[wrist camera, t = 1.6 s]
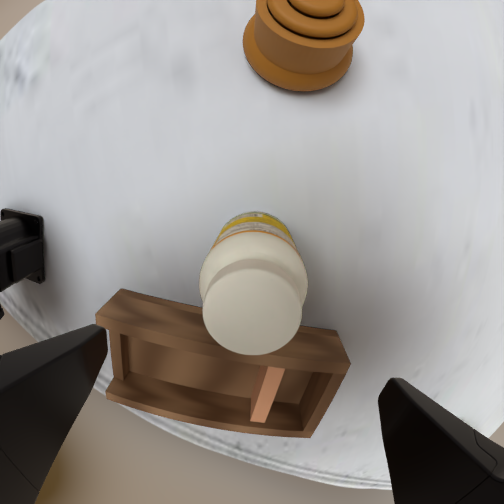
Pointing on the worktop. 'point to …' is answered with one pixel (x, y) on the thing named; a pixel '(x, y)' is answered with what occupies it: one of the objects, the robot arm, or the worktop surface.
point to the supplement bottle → (253, 285)
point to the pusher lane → (214, 369)
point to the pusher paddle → (264, 392)
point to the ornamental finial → (302, 41)
